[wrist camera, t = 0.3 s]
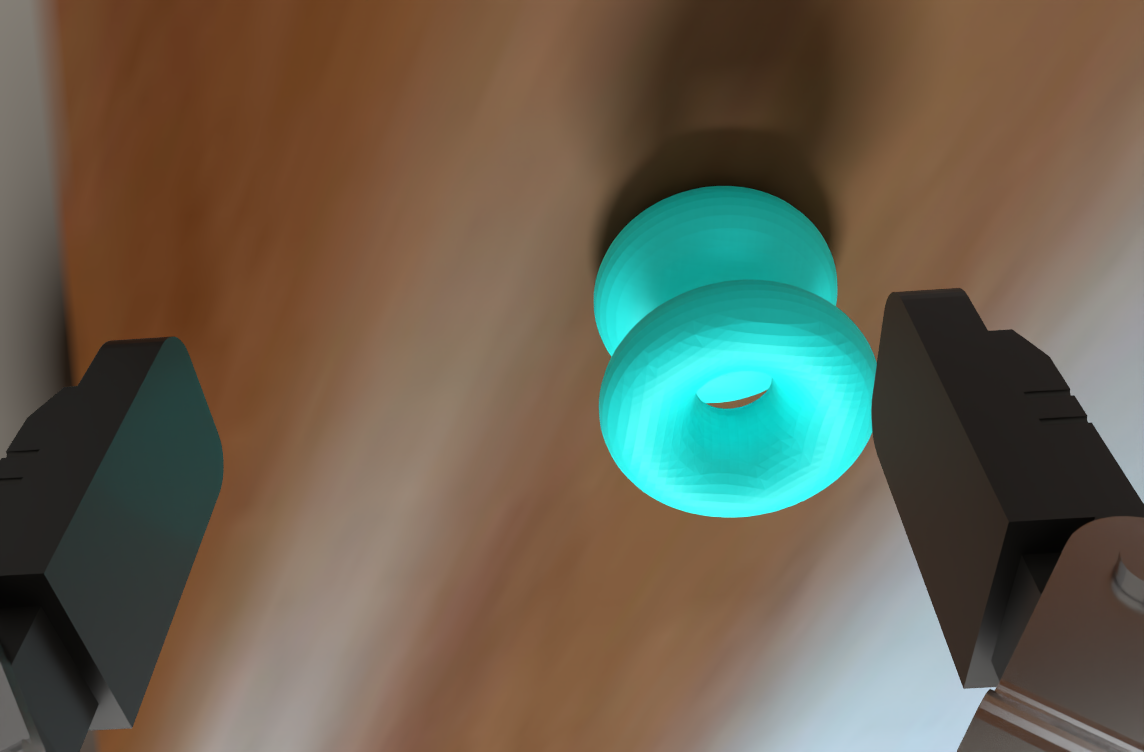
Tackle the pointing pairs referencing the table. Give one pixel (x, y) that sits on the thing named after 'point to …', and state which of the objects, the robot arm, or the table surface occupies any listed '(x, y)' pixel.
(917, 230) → the table surface
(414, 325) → the table surface
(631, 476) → the donuts
